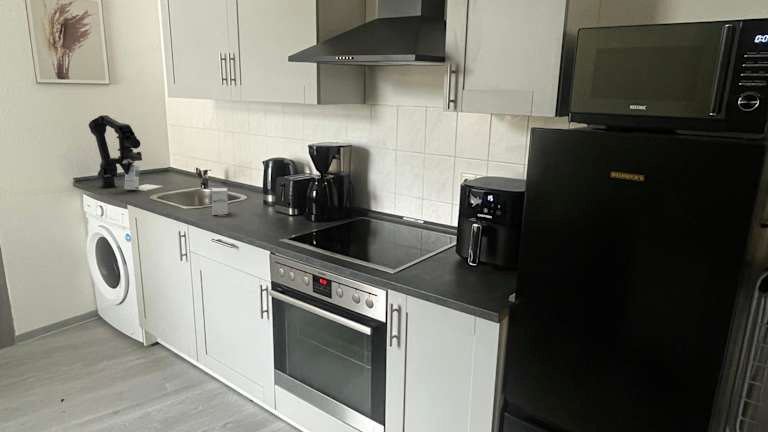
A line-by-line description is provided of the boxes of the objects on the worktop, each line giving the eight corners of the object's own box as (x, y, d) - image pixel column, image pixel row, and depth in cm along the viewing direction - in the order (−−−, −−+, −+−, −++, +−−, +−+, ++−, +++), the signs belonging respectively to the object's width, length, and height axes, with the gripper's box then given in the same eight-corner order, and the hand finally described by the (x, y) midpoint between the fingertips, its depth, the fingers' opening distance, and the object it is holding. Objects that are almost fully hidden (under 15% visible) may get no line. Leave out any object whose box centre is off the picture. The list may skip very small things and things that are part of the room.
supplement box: (212, 216, 251) (211, 190, 248) (212, 212, 258) (211, 187, 255) (228, 215, 253) (227, 190, 250) (228, 212, 260) (227, 187, 257)
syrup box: (134, 189, 296) (135, 164, 297) (123, 189, 296) (125, 163, 297) (139, 190, 302) (140, 165, 302) (129, 189, 302) (130, 165, 302)
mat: (128, 188, 304) (128, 188, 304) (146, 184, 318) (146, 184, 318) (144, 190, 301) (144, 190, 301) (162, 186, 315) (162, 186, 315)
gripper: (123, 149, 280) (125, 178, 284) (148, 146, 297) (150, 173, 301) (107, 148, 283) (109, 176, 287) (133, 145, 300) (135, 171, 304)
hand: (127, 174), depth 295 cm, fingers closed
